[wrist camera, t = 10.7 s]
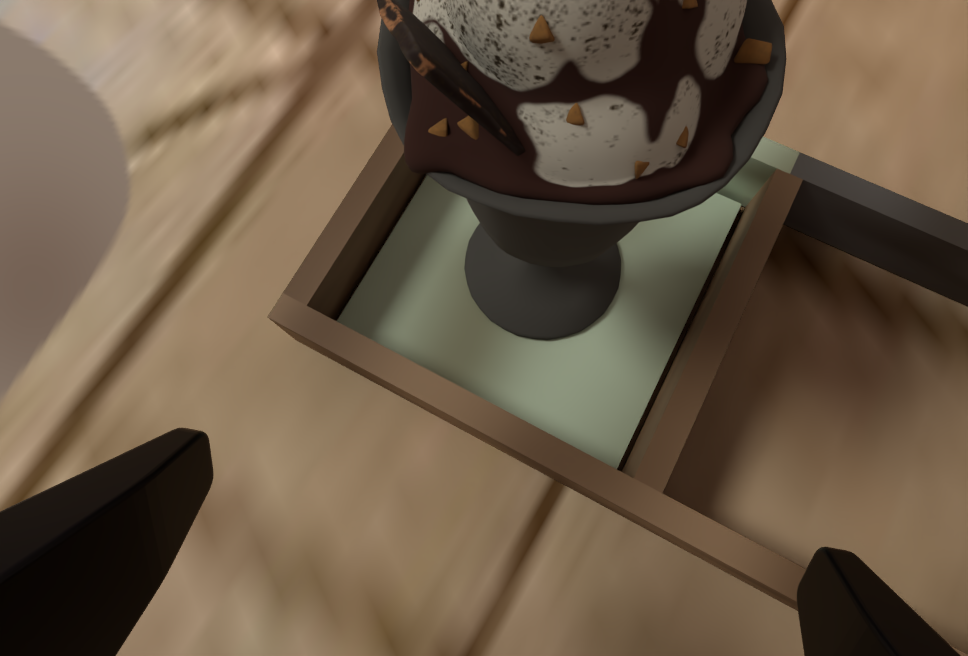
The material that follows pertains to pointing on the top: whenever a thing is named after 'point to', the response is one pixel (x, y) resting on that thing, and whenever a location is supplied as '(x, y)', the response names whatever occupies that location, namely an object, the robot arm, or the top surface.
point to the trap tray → (594, 325)
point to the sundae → (574, 130)
